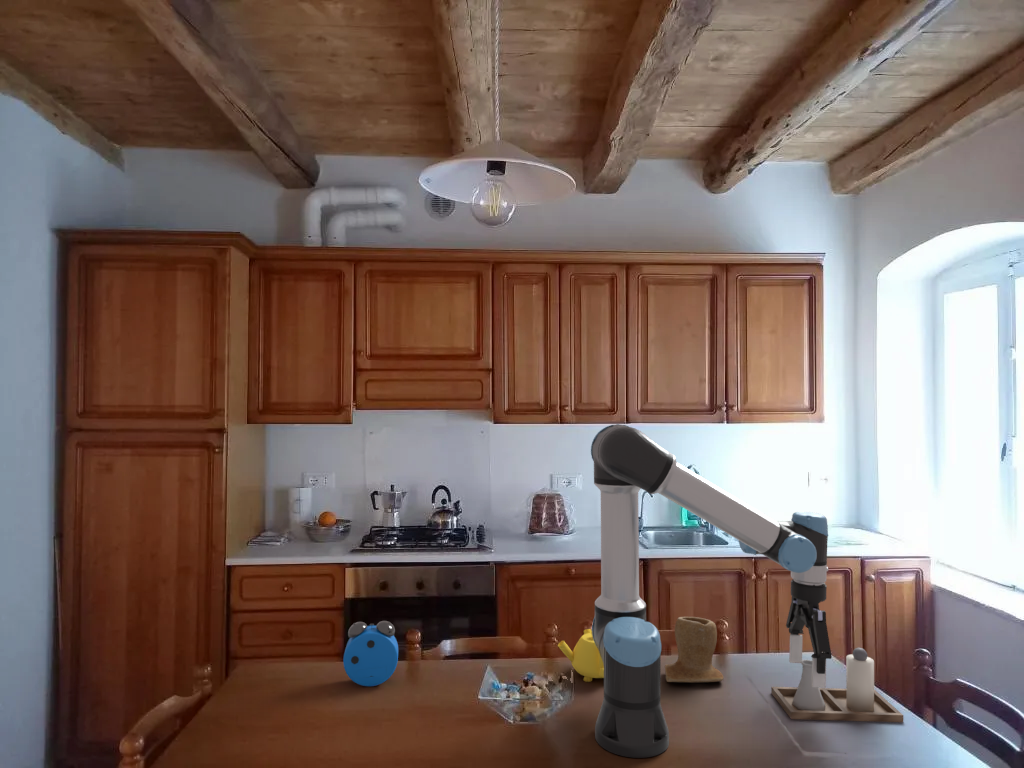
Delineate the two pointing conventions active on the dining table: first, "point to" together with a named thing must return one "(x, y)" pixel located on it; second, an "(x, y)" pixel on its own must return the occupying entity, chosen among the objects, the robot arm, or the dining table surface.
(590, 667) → the teapot
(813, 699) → the flask
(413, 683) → the dining table surface
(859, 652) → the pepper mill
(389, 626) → the alarm clock
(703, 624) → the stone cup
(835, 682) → the dining table surface
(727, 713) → the dining table surface
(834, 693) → the tray
